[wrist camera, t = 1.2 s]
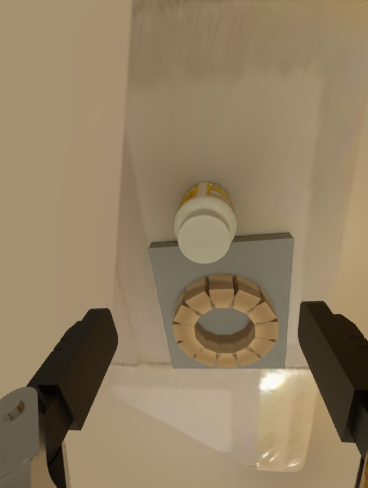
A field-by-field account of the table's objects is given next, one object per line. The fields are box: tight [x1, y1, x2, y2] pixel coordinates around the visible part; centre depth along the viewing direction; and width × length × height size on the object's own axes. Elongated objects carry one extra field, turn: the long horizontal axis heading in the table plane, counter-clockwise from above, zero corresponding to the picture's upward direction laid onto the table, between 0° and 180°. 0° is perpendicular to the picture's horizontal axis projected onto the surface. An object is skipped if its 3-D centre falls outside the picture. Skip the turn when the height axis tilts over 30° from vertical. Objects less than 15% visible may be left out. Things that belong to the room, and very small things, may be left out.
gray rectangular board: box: [148, 233, 294, 369], centre depth 31 cm, size 20×16×2 cm
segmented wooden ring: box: [172, 274, 278, 368], centre depth 29 cm, size 12×12×3 cm
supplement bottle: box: [174, 182, 237, 264], centre depth 22 cm, size 5×5×10 cm
